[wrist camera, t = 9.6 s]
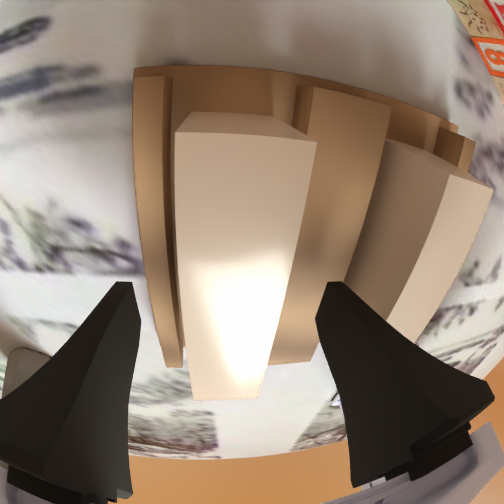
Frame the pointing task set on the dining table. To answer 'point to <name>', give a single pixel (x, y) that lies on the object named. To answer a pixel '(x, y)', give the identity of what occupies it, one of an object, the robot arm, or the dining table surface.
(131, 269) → the dining table surface
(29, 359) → the coffeepot
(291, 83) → the rack
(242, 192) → the beige rectangular block
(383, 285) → the cream long block
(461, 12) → the stack of blocks
